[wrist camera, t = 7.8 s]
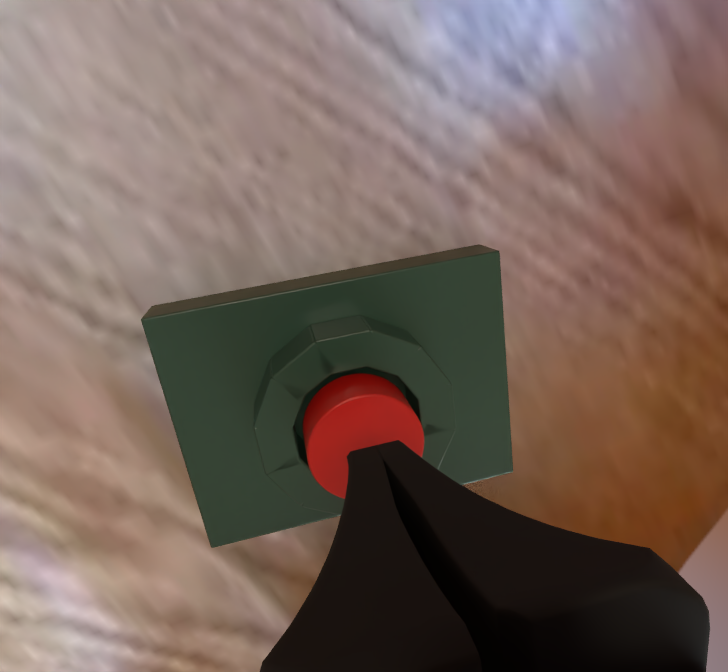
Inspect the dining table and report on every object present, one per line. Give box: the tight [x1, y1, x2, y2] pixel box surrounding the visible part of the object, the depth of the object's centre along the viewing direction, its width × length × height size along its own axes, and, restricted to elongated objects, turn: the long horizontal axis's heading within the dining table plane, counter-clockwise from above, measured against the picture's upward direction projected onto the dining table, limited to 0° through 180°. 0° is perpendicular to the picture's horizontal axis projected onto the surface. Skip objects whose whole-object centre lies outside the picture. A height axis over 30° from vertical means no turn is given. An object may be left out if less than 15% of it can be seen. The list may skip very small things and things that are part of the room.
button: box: [303, 373, 424, 499], centre depth 16 cm, size 4×4×2 cm
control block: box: [141, 245, 513, 548], centre depth 18 cm, size 12×9×4 cm
